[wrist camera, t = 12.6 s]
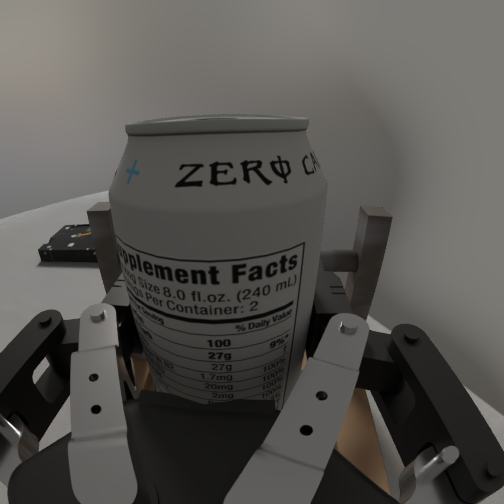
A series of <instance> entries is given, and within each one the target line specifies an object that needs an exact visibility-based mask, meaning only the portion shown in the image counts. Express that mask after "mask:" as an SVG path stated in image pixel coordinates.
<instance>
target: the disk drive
mask: <svg viewBox="0 0 504 504" xmlns="http://www.w3.org/2000/svg"><path fill="white" fill-rule="evenodd" d="M38 251H39V255H40V258H41V261H49V262H53V261H60V262H98V261H97V257H96V253H95V248H94V244H93V239H92V235H91V230H90V225H89V224H83V225H65V226H64V227H63V228H61V229H60V230H59V231H58V232H57V233H56V234H55V235H54V236H52V237H51V238H50V241H49V243H47V244H44V245H43V246H41V247H40V248H39V249H38Z"/></svg>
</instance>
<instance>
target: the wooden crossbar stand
mask: <svg viewBox="0 0 504 504" xmlns="http://www.w3.org/2000/svg"><path fill="white" fill-rule="evenodd" d="M87 215H88V220H89V225H90V230H91V235H92V239H93V244H94V248H95V253H96V257H97V261H98V265H99V269H100V273H101V276H102V280H103V284H104V287H105V291H106V294H108V292H109V291H110V289H111V288H112V287H113V285H114V283H115V282H116V281H117V279H118V278H119V276H120V275H121V273H122V267H121V263H120V258H119V253H118V248H117V243H116V237H115V232H114V226H113V220H112V214H111V207H110V202H98V203H97V204H95V205H94V206H93V207H92V208H90V209H89V210H88V211H87ZM391 222H392V216H391V215H390V214H389V213H388V212H387V211H386V210H385V209H384V208H383V207H370V206H360V211H359V218H358V224H357V230H356V236H355V241H354V247H353V250H329V249H321V250H320V258H319V260H321V262H322V265H323V268H324V271H326V272H348V277H347V282H346V286H345V292H346V295H347V297H348V300H349V303H350V305H351V308H352V310H353V313H354V315H357V316H359V317H361V318H363V319H364V320H365V321H366V319H367V316H368V313H369V309H370V306H371V303H372V299H373V296H374V292H375V289H376V285H377V281H378V277H379V274H380V270H381V266H382V262H383V258H384V253H385V249H386V245H387V240H388V236H389V231H390V227H391ZM131 359H132V362H133V365H134V371H135V376H136V381H137V387H138V391H139V394H140V391H141V389H143V390H149V391H155V388H156V386H155V384H154V381H153V378H152V375H151V372H150V369H149V366H148V363H147V360H146V357H145V354H144V351H143V353H142V354H137V353H132V354H131ZM306 363H307V357H306V350H305V353H304V358H303V363H302V368H301V373H302V371H303V369H304V367H305V365H306ZM301 373H300V375H301ZM334 448H335V449H336V450H337V451H339V452H340V453H341V454H342V455H343V456H344V457H345V458H346V459H348V460H349V461H350V462H351V463H352V464H353V465H354V466H355V467H357V468H358V469H359V470H360V471H361V472H362V473H364V474H365V475H366V476H367V477H368V478H370V479H371V480H372V481H373V482H374V483H376V484H377V485H378V486H379V487H380V488H382V489H383V490H384V491H385V492H387V493H388V494H389V495H390V491H389V486H388V481H387V476H386V471H385V467H384V462H383V458H382V453H381V449H380V445H379V441H378V437H377V432H376V428H375V424H374V421H373V417H372V413H371V409H370V405H369V402H368V398H367V394H366V391H365V389H360V388H354V391H353V395H352V398H351V401H350V404H349V407H348V410H347V413H346V416H345V419H344V421H343V424H342V427H341V430H340V432H339V435H338V438H337V440H336V443H335V446H334Z"/></svg>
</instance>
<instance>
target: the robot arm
mask: <svg viewBox="0 0 504 504" xmlns="http://www.w3.org/2000/svg"><path fill="white" fill-rule="evenodd" d="M305 350H306V357H307V363H306V365H305V367H304V369H303V371H302V373H301V375H300V377H299V379H298V381H297V383H296V384H295V386H294V388H293V390H292V392H291V394H290V396H289V398H288V400H287V401H286V403H285V405H284V407H283V409H282V411H281V410H276V409H275V400H251V399H238V400H232V401H226V402H219V403H211V404H202V403H198V402H195V401H192V400H189V399H186V398H183V397H180V396H177V395H174V394H171V393H163V392H156V391H149V390H143V389H141V391H140V394H139V391H138V387H137V381H136V376H135V371H134V365H133V362H132V359H131V354H132V353H137V354H142V353H143V347H142V344H141V341H140V337H139V334H138V331H137V327H136V324H135V320H134V316H133V313H132V309H131V305H130V301H129V297H128V293H127V289H126V285H125V281H124V276H123V272H122V273H121V275H120V276H119V278H118V279H117V281H116V282H115V283H114V285H113V287H112V288H111V289H110V291H109V292H108V294H107V295H106V297H105V298H104V300H103V301H102V303H100V304H95V305H92V306H90V307H88V308H87V309H85V310H84V311H83V313H82V314H81V317H80V318H79V319H71V320H63V318H62V316H61V313H60V312H59V311H57V310H46V311H43V312H41V313H39V314H38V315H36V316H35V317H34V318H33V319H32V320H31V321H30V322H29V323H28V324H27V325H26V326H25V327H24V328H23V329H22V330H21V332H20V333H19V334H18V335H17V336H16V337H15V338H14V339H13V340H12V341H11V342H10V343H9V344H8V345H7V347H6V348H5V349H4V350H3V351H2V352H1V353H0V481H1V482H2V483H3V484H4V485H6V486H7V487H8V493H7V494H8V501H9V504H479V503H480V502H482V501H483V500H484V499H485V498H487V497H488V496H490V495H491V494H493V493H495V492H496V491H498V490H499V489H500V488H502V487H503V486H504V451H503V450H502V448H501V446H500V444H499V442H498V441H497V439H496V437H495V436H494V434H493V432H492V431H491V429H490V427H489V426H488V424H487V422H486V421H485V419H484V417H483V416H482V414H481V413H480V411H479V409H478V408H477V406H476V405H475V403H474V402H473V400H472V399H471V397H470V395H469V394H468V392H467V391H466V389H465V388H464V386H463V385H462V383H461V382H460V381H459V379H458V378H457V376H456V375H455V373H454V372H453V371H452V369H451V368H450V366H449V365H448V364H447V362H446V361H445V359H444V358H443V356H442V355H441V354H440V352H439V351H438V349H437V348H436V347H435V345H434V344H433V343H432V341H431V340H430V339H429V337H428V336H427V335H426V333H425V332H424V331H422V329H420V328H418V327H417V326H414V325H410V324H400V325H398V326H396V327H394V329H393V330H392V332H391V334H386V333H380V332H375V331H372V330H369V326H368V324H367V322H366V321H365V320H364V319H363V318H361V317H359V316H357V315H354V313H353V310H352V308H351V305H350V303H349V300H348V297H347V295H346V292H345V290H344V288H343V285H342V282H341V280H340V278H339V277H338V276H337V275H335V274H334V273H333V272H325V271H324V268H323V265H322V262H321V260H319V266H318V273H317V280H316V287H315V293H314V300H313V306H312V312H311V319H310V325H309V330H308V336H307V342H306V347H305ZM45 357H46V359H47V360H48V362H49V364H50V366H49V367H48V368H47V369H46V371H45V372H44V373H43V374H42V376H41V377H40V378H39V380H38V381H37V382H36V384H34V382H33V379H32V376H33V372H34V370H35V369H36V367H37V366H38V365H39V364H40V362H41V361H42V360H43V359H44V358H45ZM354 388H360V389H366V390H370V392H371V394H372V396H373V398H374V400H375V402H376V404H377V406H378V409H379V411H380V413H381V415H382V417H383V419H384V422H385V424H386V426H387V428H388V430H389V432H390V435H391V437H392V439H393V441H394V444H395V446H396V448H397V450H398V453H399V455H400V457H401V459H402V462H403V464H404V466H405V468H404V470H403V471H402V472H401V474H400V477H399V488H400V499H399V502H398V501H397V500H395V499H394V498H393V497H392V496H390V495H389V494H388V493H387V492H385V491H384V490H383V489H382V488H380V487H379V486H378V485H377V484H376V483H374V482H373V481H372V480H371V479H370V478H368V477H367V476H366V475H365V474H364V473H362V472H361V471H360V470H359V469H358V468H357V467H355V466H354V465H353V464H352V463H351V462H350V461H349V460H348V459H346V458H345V457H344V456H343V455H342V454H341V453H340V452H339V451H337V450H336V449H335V448H334V446H335V443H336V440H337V438H338V435H339V432H340V430H341V427H342V424H343V421H344V419H345V416H346V413H347V410H348V407H349V404H350V401H351V398H352V395H353V391H354ZM69 395H70V406H71V430H72V431H71V432H70V433H68V434H67V435H65V436H64V437H62V438H60V439H59V440H57V441H56V442H54V443H53V444H51V445H49V446H48V447H46V448H44V449H43V450H41V451H40V452H39V451H38V450H39V442H40V440H41V438H42V437H43V435H44V434H45V432H46V430H47V429H48V427H49V426H50V424H51V423H52V421H53V419H54V418H55V416H56V415H57V413H58V412H59V410H60V409H61V407H62V406H63V404H64V403H65V401H66V400H67V398H68V397H69Z"/></svg>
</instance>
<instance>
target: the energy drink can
mask: <svg viewBox="0 0 504 504" xmlns="http://www.w3.org/2000/svg"><path fill="white" fill-rule="evenodd" d="M308 124H309V119H307V118H302V117H292V116H279V115H257V114H256V115H255V114H222V115H221V114H218V115H196V116H195V115H194V116H181V117H170V118H159V119H152V120H144V121H137V122H132V123H127V124H126V125H125V129H126V133H127V134H128V143H127V146H126V149H125V151H124V154H123V156H122V158H121V161H120V163H119V166H118V168H117V171H116V173H115V176H114V178H113V181H112V184H111V186H110V189H109V201H110V207H111V214H112V220H113V226H114V232H115V237H116V243H117V248H118V253H119V258H120V263H121V267H122V272H123V276H124V281H125V285H126V289H127V293H128V297H129V301H130V305H131V309H132V313H133V316H134V320H135V324H136V327H137V331H138V334H139V337H140V341H141V344H142V347H143V351H144V354H145V357H146V360H147V363H148V366H149V369H150V372H151V375H152V378H153V381H154V384H155V386H156V389H157V392H163V393H171V394H174V395H177V396H180V397H183V398H186V399H189V400H192V401H195V402H198V403H202V404H211V403H219V402H226V401H232V400H238V399H251V400H275V409H276V410H281V411H282V409H283V407H284V405H285V403H286V401H287V400H288V398H289V396H290V394H291V392H292V390H293V388H294V386H295V384H296V383H297V381H298V379H299V377H300V373H301V368H302V363H303V358H304V353H305V347H306V342H307V336H308V330H309V325H310V319H311V312H312V306H313V300H314V293H315V287H316V280H317V273H318V266H319V258H320V250H321V242H322V234H323V225H324V216H325V207H326V195H327V181H326V178H325V176H324V174H323V172H322V169H321V167H320V165H319V163H318V161H317V159H316V156H315V154H314V152H313V150H312V148H311V146H310V143H309V141H308V139H307V135H306V129H307V127H308Z"/></svg>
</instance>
